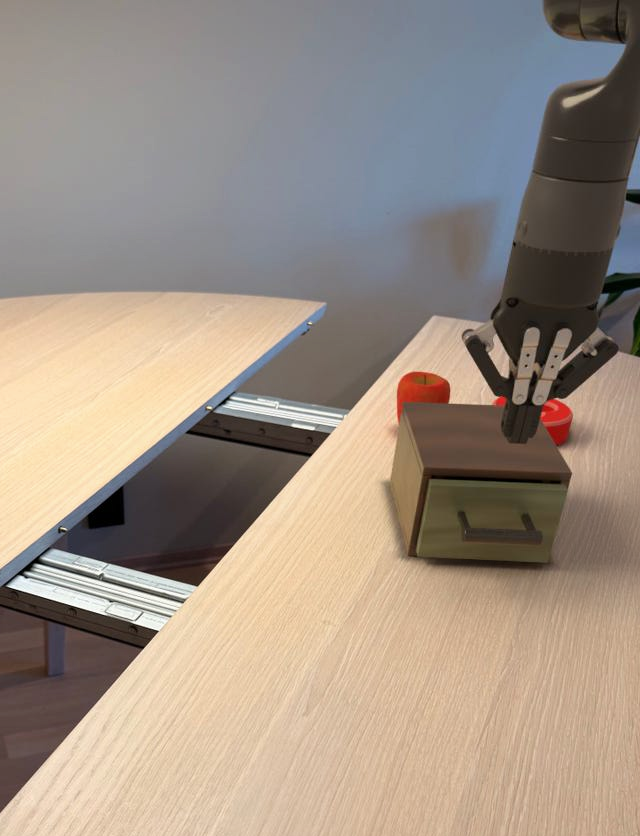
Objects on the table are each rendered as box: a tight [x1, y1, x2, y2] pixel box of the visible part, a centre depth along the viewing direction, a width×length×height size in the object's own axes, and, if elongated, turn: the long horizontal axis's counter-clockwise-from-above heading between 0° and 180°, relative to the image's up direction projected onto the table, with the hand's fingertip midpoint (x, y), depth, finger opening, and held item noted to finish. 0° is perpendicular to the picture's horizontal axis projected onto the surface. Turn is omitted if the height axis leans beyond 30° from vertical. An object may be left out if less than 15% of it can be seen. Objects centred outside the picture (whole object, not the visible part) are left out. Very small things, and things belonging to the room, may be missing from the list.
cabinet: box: [389, 402, 573, 557], centre depth 102 cm, size 16×14×10 cm
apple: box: [396, 371, 451, 424], centre depth 120 cm, size 6×6×8 cm
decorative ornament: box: [491, 396, 574, 446], centre depth 122 cm, size 10×10×3 cm
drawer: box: [416, 476, 569, 564], centre depth 98 cm, size 19×13×8 cm, turn 176°
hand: (515, 439), depth 87 cm, fingers closed
